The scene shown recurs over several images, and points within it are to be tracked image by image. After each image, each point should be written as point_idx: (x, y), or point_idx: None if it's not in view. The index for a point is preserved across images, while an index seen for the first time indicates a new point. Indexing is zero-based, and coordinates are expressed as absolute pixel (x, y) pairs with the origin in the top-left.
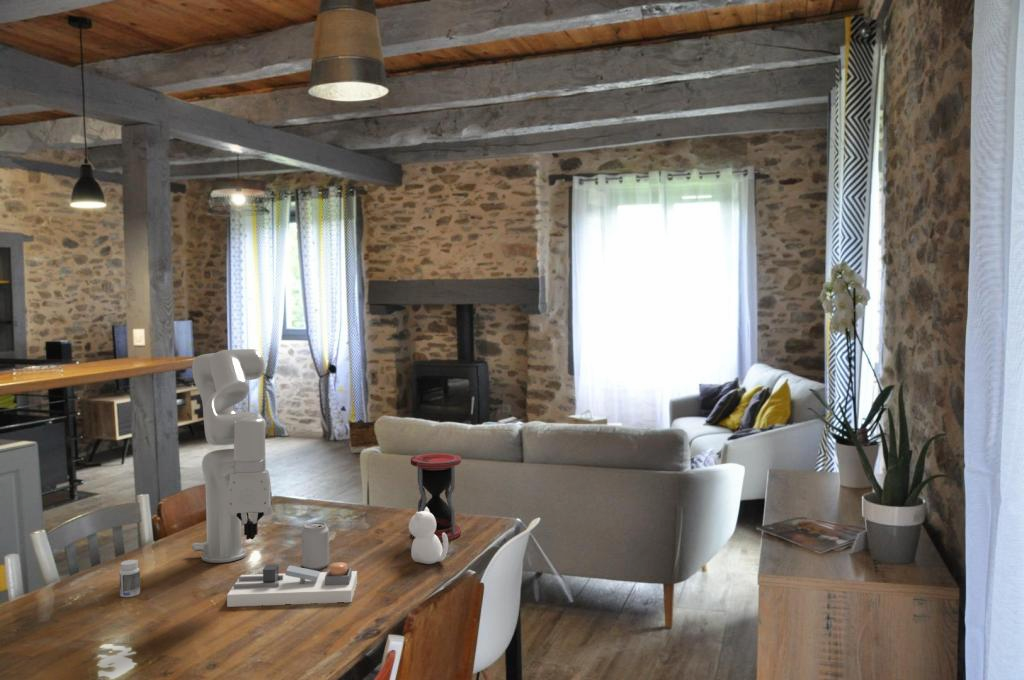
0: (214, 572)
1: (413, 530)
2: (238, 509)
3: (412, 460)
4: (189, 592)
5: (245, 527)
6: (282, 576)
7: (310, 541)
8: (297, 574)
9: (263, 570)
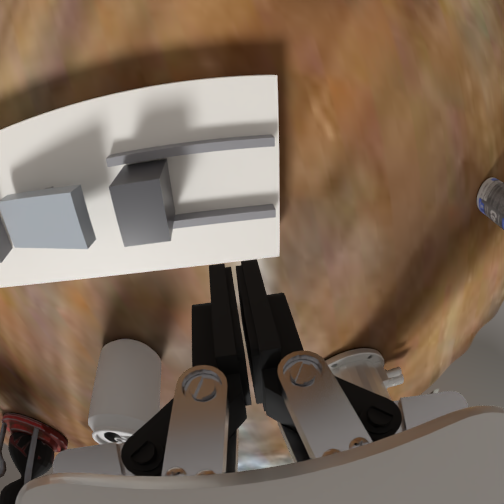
0: (355, 311)
1: None
2: (431, 469)
3: None
4: (395, 195)
5: (285, 334)
6: None
7: (118, 396)
8: (42, 193)
9: (157, 177)
